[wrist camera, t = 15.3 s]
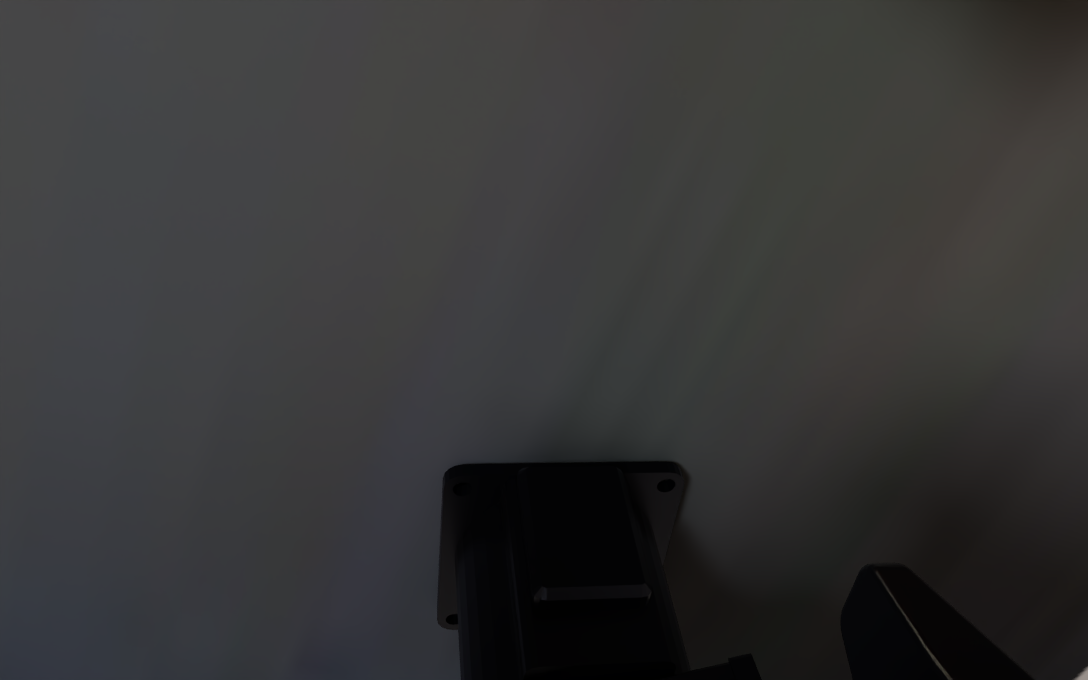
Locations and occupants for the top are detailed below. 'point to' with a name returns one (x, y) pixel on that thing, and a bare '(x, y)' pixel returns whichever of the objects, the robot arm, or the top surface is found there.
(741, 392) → the top surface
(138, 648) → the top surface
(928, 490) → the top surface
